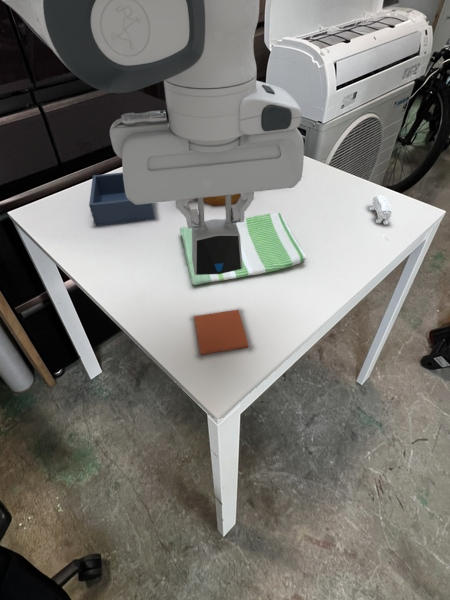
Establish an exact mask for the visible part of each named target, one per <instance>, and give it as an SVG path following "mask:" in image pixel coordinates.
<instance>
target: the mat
mask: <svg viewBox="0 0 450 600" xmlns="http://www.w3.org/2000/svg"><path fill="white" fill-rule="evenodd" d="M193 317H194V319H193V320H194V324H195V330H196V336H197V337H196V338H197V342H198V348H199V354H200V355H201V356H202V355H207V354H213V353H220V352H227V351H233V350H240V349H245V348H249V342H248V338H247V335H246V331H245V328H244V324H243V321H242V317H241V313H240V310H239V309H234V310H228V311H221V312H213V313H208V314H207V313H206V314H200V315H194V316H193Z"/></svg>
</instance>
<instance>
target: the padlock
mask: <svg viewBox="0 0 450 600" xmlns="http://www.w3.org/2000/svg"><path fill="white" fill-rule="evenodd" d="M225 198H226V205H225V218H224V219H223V218H222V219H221V218H220V219H219V218H217V219H216V218H215V219H214V218H213V219H208V220H205V208H204V206H205V205H204V204H205V203H204V202H203V198H196V200H197V199H198V200H197V211H198V215H199V224H200V227H198V228H192V262H193V268H194V274H195V275H209V274H222V273H227V272H231V271H236V270H240V269H243V266H242V253H241V240H240V234H239V231H238V228H237V225H236V223H232V220H231V205H232V204H231V195H225Z"/></svg>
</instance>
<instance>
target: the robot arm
mask: <svg viewBox="0 0 450 600" xmlns="http://www.w3.org/2000/svg"><path fill="white" fill-rule="evenodd" d="M0 1H1V2H3V4H5V5H6V6H7V7H9V8H10V9H11V10H12V11H14V12H15V14H17V16H19V18H20V19H22V21H23V22H24V23H25V24H26V26H27V27H28V28H29V29H30V30H31V31H32V33H33V34H35V36H36V37H37V38H38V39H39V40H40V41H41V42H42V43H44V45H46V46H47V47H48V48H49V49H50V50H52V52H53V53H54V55H55V56H56V57H57V58H58V59H59V61H61V63H62V64H63V65H64V66H65V67H66V68H67V69H68V70H69V71H70V72H71V73H72V74H73V75H74V76H76V77H77V78H78V79H79V80H80V81H82V82H83V83H85V84H86V85H89V86H90V87H92V88H94V89H97V90H98V91H102V92H106V93H112V94H125V93H126V94H127V93H131V92H135V91H139V90H141V89H144V88H147V87H150V86H153V85H155V84H158V83H161V82H163V89H164V97H165V105H166V109H162V110H161V109H160V110H151V111H146V112H140V113H139V112H138V113H136V112H127V113H123V114H121V115H120V116H121V117H120V118H118V119H116V120H115V121H113V123H112V124H111V126H110V129H109V137H110V142H111V146H112V149H113V152H114V153H115V155H116V156H117V157H118V158H120V159H121V163H122V164H121V166H122V168H121V169H122V172H123V181H124V188H125V194H126V197H127V199H129V200H130V201H131V202H132V203H134V204H136V205H139V204H148V203H154V204H157V203H165V202H166V203H167V202H175V207H176V209H177V210H179V212H180V213H181V214H182V215H183V217H184V218H185V219H186V225H187V227H188V229H190V228H198V227H200V224H199V213H198V208H192V209H191V207H190V206H189V200H195V199H197V198H203V197H213V196H222V195H231V194H241V197H240V199H239V200H238V202H236V203H235V204H231V220H232V223H241V222H244V219H245V212H246V211H247V209H248V208H249V207H250V205H251V204H252V202H253V201H254V200H255V193H258V192H266V191H267V192H269V191H276V190H285V189H293V188H295V187H296V186H297V185H298V184H299V182H300V181H301V180H302V178H303V172H304V162H305V161H304V159H305V144H304V138H303V135H302V133H301V132H300V130H299V129H298V128H299V127H300V125H301V122H302V118H303V112H302V109H301V106H300V104H299V103H298V102H297V100H295V98H294V97H293V96H292V95H291V94H290V93H289V92H288V91H286V90H285V89H284V88H282V87H280V86H277V85H273V84H270V83H267V82H263V81H259V80H257V75H258V73H257V71H258V70H257V63H256V58H255V52H254V51H255V50H254V40H255V34H256V33H255V32H256V28H257V25H258V22H259V17H260V0H0Z"/></svg>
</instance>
